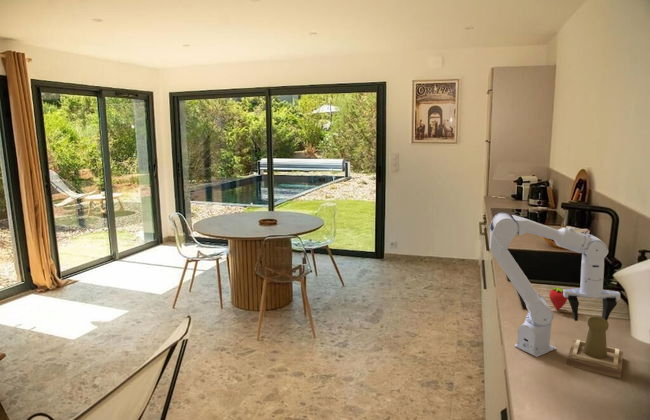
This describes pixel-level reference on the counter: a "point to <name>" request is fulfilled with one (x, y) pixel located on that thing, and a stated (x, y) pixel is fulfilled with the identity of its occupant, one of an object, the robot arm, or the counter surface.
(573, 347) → the wooden serving tray
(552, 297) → the strawberry
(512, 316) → the counter surface
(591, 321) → the cork
